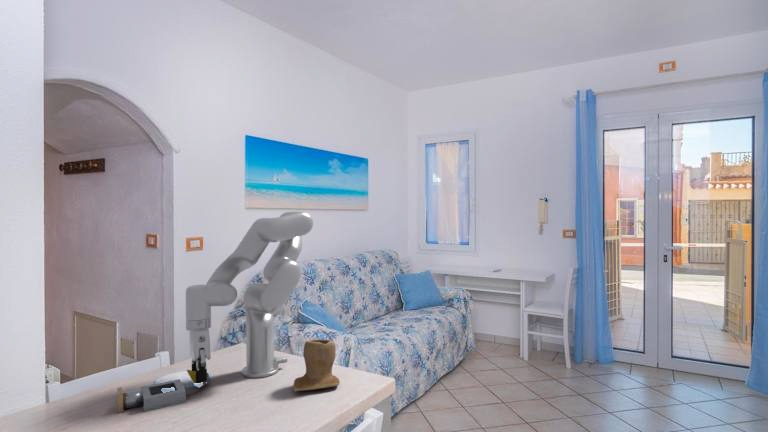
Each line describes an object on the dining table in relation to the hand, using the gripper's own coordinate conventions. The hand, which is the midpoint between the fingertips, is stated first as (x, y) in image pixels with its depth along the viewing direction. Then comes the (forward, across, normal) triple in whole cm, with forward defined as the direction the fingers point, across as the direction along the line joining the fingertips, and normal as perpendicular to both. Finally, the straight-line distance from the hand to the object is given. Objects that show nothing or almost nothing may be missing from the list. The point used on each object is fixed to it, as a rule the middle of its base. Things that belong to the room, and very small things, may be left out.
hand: (199, 377), depth 141 cm
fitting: (+3, -4, +14) cm, 15 cm away
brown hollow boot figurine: (+3, -20, -32) cm, 38 cm away
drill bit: (+3, 0, 0) cm, 3 cm away
